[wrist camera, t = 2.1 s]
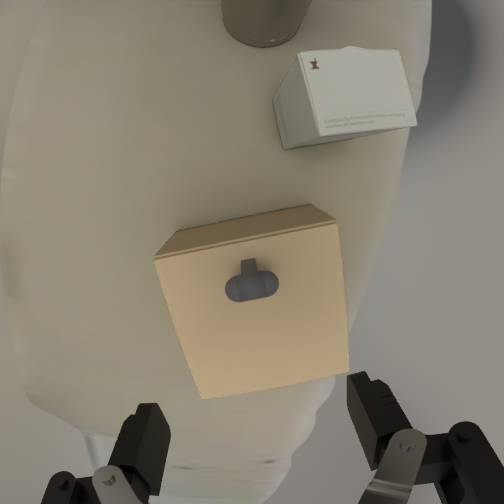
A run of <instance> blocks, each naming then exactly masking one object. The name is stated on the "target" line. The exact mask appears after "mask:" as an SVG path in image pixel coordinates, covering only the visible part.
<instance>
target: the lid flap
mask: <svg viewBox="0 0 504 504" xmlns="http://www.w3.org/2000/svg"><path fill="white" fill-rule="evenodd" d="M154 263H155V267H156V270H157V273H158V277H159V280H160V283H161V286H162V290H163V293H164V296H165V299H166V302H167V305H168V308H169V311H170V314H171V317H172V320H173V323H174V326H175V329H176V332H177V335H178V338H179V340H180V343H181V346H182V349H183V351H184V354H185V357H186V359H187V362H188V365H189V367H190V370H191V373H192V375H193V378H194V380H195V383H196V385H197V388H198V390H199V393H200V395H201V398H202V399H206V398H214V397H222V396H230V395H237V394H243V393H250V392H256V391H262V390H267V389H273V388H278V387H283V386H288V385H293V384H298V383H303V382H307V381H312V380H316V379H320V378H325V377H329V376H333V375H337V374H341V373H344V372H348V371H349V350H348V330H347V314H346V301H345V289H344V278H343V268H342V258H341V249H340V241H339V232H338V225H337V223H336V222H334V223H328V224H323V225H318V226H313V227H308V228H303V229H297V230H292V231H287V232H282V233H277V234H272V235H267V236H262V237H257V238H252V239H247V240H242V241H237V242H232V243H227V244H222V245H218V246H213V247H208V248H203V249H198V250H193V251H188V252H184V253H179V254H174V255H169V256H164V257H160V258H155V260H154Z"/></svg>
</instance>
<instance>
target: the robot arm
mask: <svg viewBox="0 0 504 504" xmlns="http://www.w3.org/2000/svg"><path fill="white" fill-rule="evenodd" d="M311 1H312V0H221V6H222V14H223V21H224V25H225V27H226V29H227V31H228V32H229V33H230V34H231V35H232V36H233V37H234V38H236V39H237V40H238V41H240V42H242V43H244V44H247V45H251V46H255V47H272V46H277V45H280V44H282V43H285V42H286V41H288V40H289V39H291V38H292V37H293V36H294V35H295V34H296V32H297V30H298V28H299V26H300V24H301V22H302V20H303V18H304V16H305V14H306V12H307V10H308V7H309V5H310V3H311ZM347 407H348V411H349V414H350V417H351V419H352V422H353V424H354V427H355V429H356V432H357V435H358V437H359V440H360V442H361V445H362V447H363V450H364V453H365V455H366V458H367V460H368V463H369V466H370V469H371V471H373V470H376V469H377V471H376V474H375V476H374V478H373V480H372V481H371V483H369V484H368V486H367V488H366V489H365V491H364V493H363V495H362V497H361V499H360V501H359V503H358V504H407V502H408V499H409V497H410V494H411V490H412V487H413V485H419V484H427V483H434V485H435V488H436V490H437V493H438V495H439V498H440V500H441V503H442V504H504V467H503V465H502V463H501V462H500V460H499V458H498V457H497V455H496V453H495V452H494V450H493V448H492V447H491V445H490V443H489V442H488V440H487V439H486V437H485V436H484V434H483V432H482V431H481V429H480V428H479V426H477V425H476V424H475V423H472V422H467V421H464V422H459V423H457V424H455V425H454V426H453V427H451V429H450V430H449V432H448V433H443V434H436V435H425V434H423V433H422V432H420V431H418V430H416V429H413V427H412V426H411V424H410V422H409V421H408V419H407V417H406V415H405V414H404V412H403V410H402V409H401V407H400V405H399V403H398V402H397V400H396V398H395V397H394V395H393V393H392V392H391V390H390V388H389V387H388V385H387V384H385V383H384V382H382V381H381V380H379V379H378V380H374V381H370V379H369V377H368V375H367V373H366V372H365V371H362V372H358V373H355V374H351V375H348V376H347ZM170 439H171V432H170V427H169V425H168V423H167V421H166V419H165V417H164V415H163V413H162V411H161V409H160V407H159V405H158V404H157V403H140V404H139V405H138V408H137V410H136V413H135V415H130V416H129V417H128V418H127V419H126V420H125V421H124V422H123V425H122V428H121V430H120V433H119V435H118V440H117V441H116V443H115V446H114V449H113V452H112V454H111V457H110V460H109V463H108V465H107V466H103V467H101V468H99V469H98V470H97V471H96V472H95V473H94V475H93V476H92V477H84V478H77V479H76V478H75V477H74V476H73V475H72V474H71V473H70V472H67V471H61V472H58V473H56V474H55V475H53V476H52V477H51V479H50V481H49V484H48V486H47V488H46V491H45V494H44V496H43V499H42V502H41V504H150V503H149V502H148V500H149V495H155V496H159V492H160V487H161V482H162V477H163V472H164V467H165V462H166V458H167V453H168V448H169V443H170Z"/></svg>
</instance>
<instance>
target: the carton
mask: <svg viewBox="0 0 504 504" xmlns="http://www.w3.org/2000/svg"><path fill="white" fill-rule="evenodd" d="M334 222H336V219H334V218H333V217H331V216H329V215H328V214H326V213H325V212H323V211H321V210H320V209H318V208H316V207H315V206H313V205H312V204H308V205H303V206H297V207H292V208H287V209H282V210H276V211H271V212H266V213H261V214H256V215H251V216H246V217H241V218H236V219H231V220H227V221H222V222H217V223H212V224H208V225H203V226H198V227H194V228H189V229H184V230H180V231H176V232H175V233H174V234H173V235H172V236H171V238H170V239H169V240H168V241H167V242H166V243H165V244H164V245H163V247H162V248H161V249H160V250H159V251H158V252H157V253H156V255H155V256H154V258H160V257H164V256H169V255H174V254H179V253H184V252H188V251H193V250H198V249H203V248H208V247H213V246H218V245H222V244H227V243H232V242H237V241H242V240H247V239H252V238H257V237H262V236H267V235H272V234H277V233H282V232H287V231H292V230H297V229H303V228H308V227H313V226H318V225H323V224H328V223H334Z"/></svg>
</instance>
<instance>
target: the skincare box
mask: <svg viewBox="0 0 504 504" xmlns="http://www.w3.org/2000/svg"><path fill="white" fill-rule="evenodd" d="M273 106H274V110H275V115H276V119H277V124H278V128H279V133H280V137H281V142H282V146H283V149H284V150H288V149H293V148H299V147H305V146H311V145H318V144H324V143H330V142H336V141H343V140H349V139H353V138H358V137H362V136H367V135H372V134H376V133H381V132H386V131H390V130H395V129H400V128H405V127H412V126H417V121H416V116H415V111H414V107H413V102H412V98H411V94H410V89H409V85H408V81H407V78H406V74H405V70H404V67H403V63H402V60H401V57H400V53H399V50H397V49H373V48H360V47H356V46H347V47H344V48H342V49H327V50H313V51H304V52H300V53H298V54H297V57H296V59H295V61H294V63H293V65H292V67H291V69H290V70H289V72H288V74H287V75H286V77H285V79H284V81H283V82H282V84H281V86H280V88H279V90H278V91H277V93H276V95H275V96H274V98H273Z"/></svg>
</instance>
